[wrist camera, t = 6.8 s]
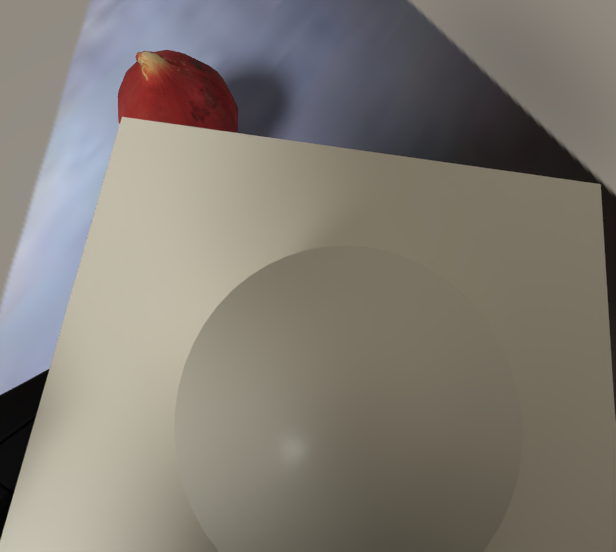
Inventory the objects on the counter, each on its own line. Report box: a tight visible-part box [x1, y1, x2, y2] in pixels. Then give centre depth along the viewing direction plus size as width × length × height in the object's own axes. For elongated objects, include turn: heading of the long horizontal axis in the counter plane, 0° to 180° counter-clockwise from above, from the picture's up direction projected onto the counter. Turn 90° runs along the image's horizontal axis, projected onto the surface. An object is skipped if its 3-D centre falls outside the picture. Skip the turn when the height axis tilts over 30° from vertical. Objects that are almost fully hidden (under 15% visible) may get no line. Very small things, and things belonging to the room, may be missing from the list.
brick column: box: [0, 117, 616, 552], centre depth 8 cm, size 4×4×13 cm
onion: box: [118, 50, 238, 133], centre depth 20 cm, size 6×6×8 cm
